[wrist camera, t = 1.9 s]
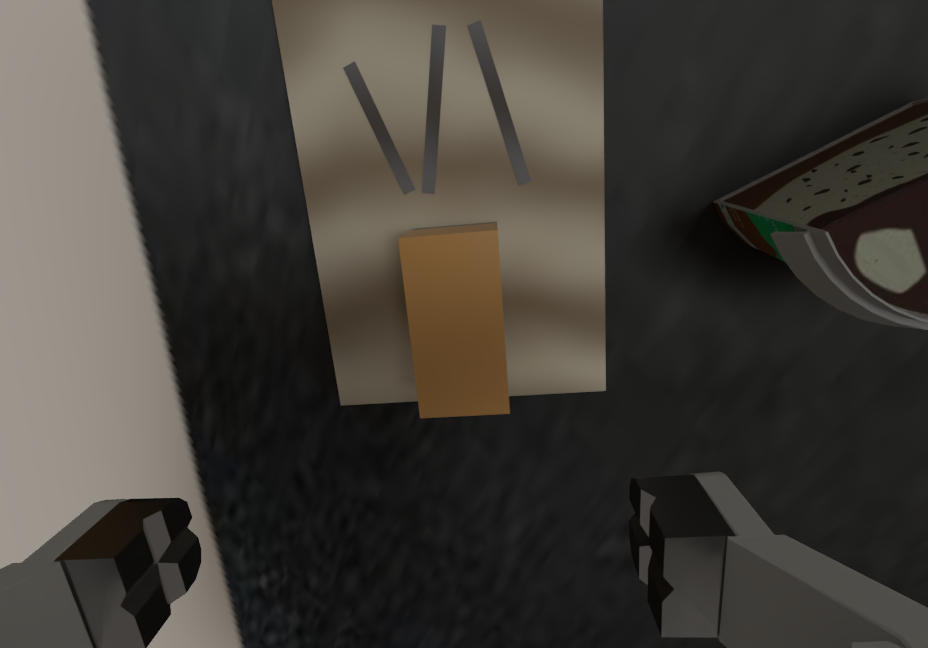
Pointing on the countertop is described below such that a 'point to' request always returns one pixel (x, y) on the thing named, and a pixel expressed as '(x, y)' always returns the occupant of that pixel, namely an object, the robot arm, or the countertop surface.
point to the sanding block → (456, 319)
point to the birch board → (453, 172)
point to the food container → (850, 218)
